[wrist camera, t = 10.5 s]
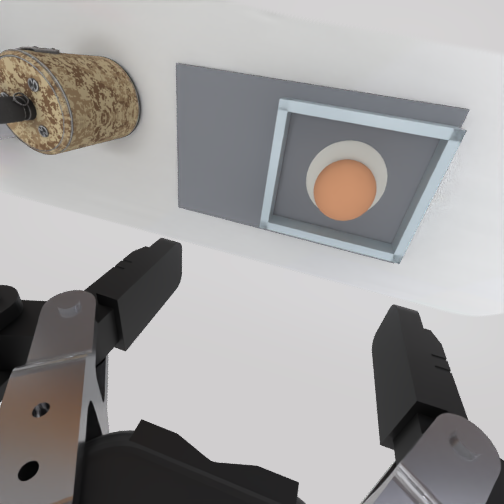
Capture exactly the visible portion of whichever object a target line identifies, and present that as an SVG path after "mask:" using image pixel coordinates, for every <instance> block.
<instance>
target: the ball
mask: <svg viewBox="0 0 504 504" xmlns="http://www.w3.org/2000/svg"><path fill="white" fill-rule="evenodd" d="M313 193H314V199H315V203H316V205H317V207H318V208H319V210H320V211H321V212H322V213H323V214H324V215H326V216H327V217H329V218H331V219H334V220H339V221H347V220H352V219H355V218H357V217H359V216H361V215H362V214H364V213H365V212H366V211H367V210H368V209H369V208H370V207H371V205H372V203H373V201H374V199H375V196H376V180H375V177H374V175H373V173H372V172H371V170H370V169H369V168H368V167H367V166H365V165H364V164H362V163H361V162H358V161H355V160H350V159H344V160H339V161H336V162H333V163H331V164H329V165H328V166H326V167H325V168H324V169H323V170H322V171H321V172H320V174H319V175H318V177H317V179H316V181H315V184H314V192H313Z"/></svg>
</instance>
